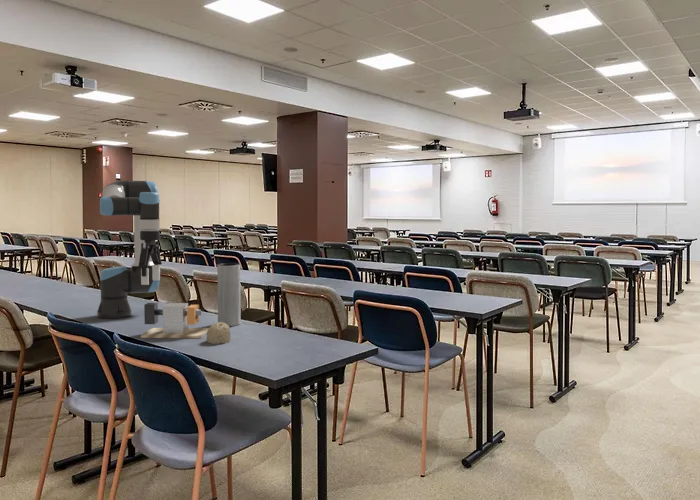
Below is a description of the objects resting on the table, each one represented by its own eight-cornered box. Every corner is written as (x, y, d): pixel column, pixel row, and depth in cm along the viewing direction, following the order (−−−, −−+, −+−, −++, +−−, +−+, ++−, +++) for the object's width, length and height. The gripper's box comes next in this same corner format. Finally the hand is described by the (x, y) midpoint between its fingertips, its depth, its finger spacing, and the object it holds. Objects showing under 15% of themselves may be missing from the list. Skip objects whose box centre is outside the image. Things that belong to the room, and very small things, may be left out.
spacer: (187, 324, 222) (186, 307, 221) (191, 321, 229) (191, 304, 228) (194, 324, 222) (194, 307, 221) (198, 321, 229) (198, 304, 228)
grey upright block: (163, 333, 221) (162, 306, 220) (169, 329, 229) (168, 303, 228) (183, 333, 221) (182, 306, 221) (188, 329, 229) (188, 303, 229)
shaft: (144, 324, 222) (144, 304, 222) (148, 322, 227) (147, 302, 226) (199, 324, 223) (198, 305, 223) (201, 322, 227) (201, 303, 227)
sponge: (231, 351, 214) (238, 328, 219) (220, 342, 206) (228, 318, 211) (210, 349, 217) (218, 326, 222) (199, 340, 209) (207, 316, 214)
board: (140, 337, 218) (140, 335, 218) (152, 330, 232) (152, 327, 232) (201, 338, 219) (201, 335, 219) (209, 330, 233) (209, 328, 233)
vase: (239, 321, 252) (238, 263, 250) (241, 325, 243) (241, 265, 241) (216, 322, 249) (216, 263, 247) (218, 327, 240) (218, 265, 238)
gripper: (150, 229, 234) (151, 278, 236) (129, 231, 209) (130, 286, 211) (168, 229, 234) (169, 278, 236) (148, 231, 210) (149, 286, 211)
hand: (150, 282), depth 223 cm, fingers open, 13 cm apart
